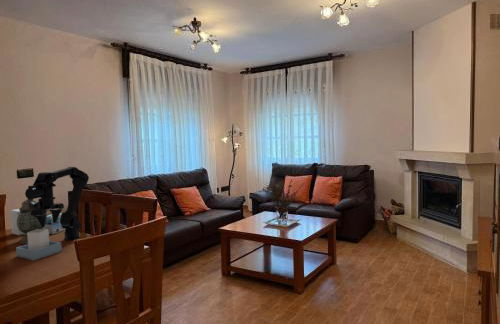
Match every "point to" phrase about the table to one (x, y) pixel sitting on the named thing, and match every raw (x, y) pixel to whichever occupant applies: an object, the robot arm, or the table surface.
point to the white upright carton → (38, 239)
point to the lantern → (27, 220)
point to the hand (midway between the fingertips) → (49, 225)
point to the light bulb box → (53, 224)
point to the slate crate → (38, 251)
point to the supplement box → (15, 222)
